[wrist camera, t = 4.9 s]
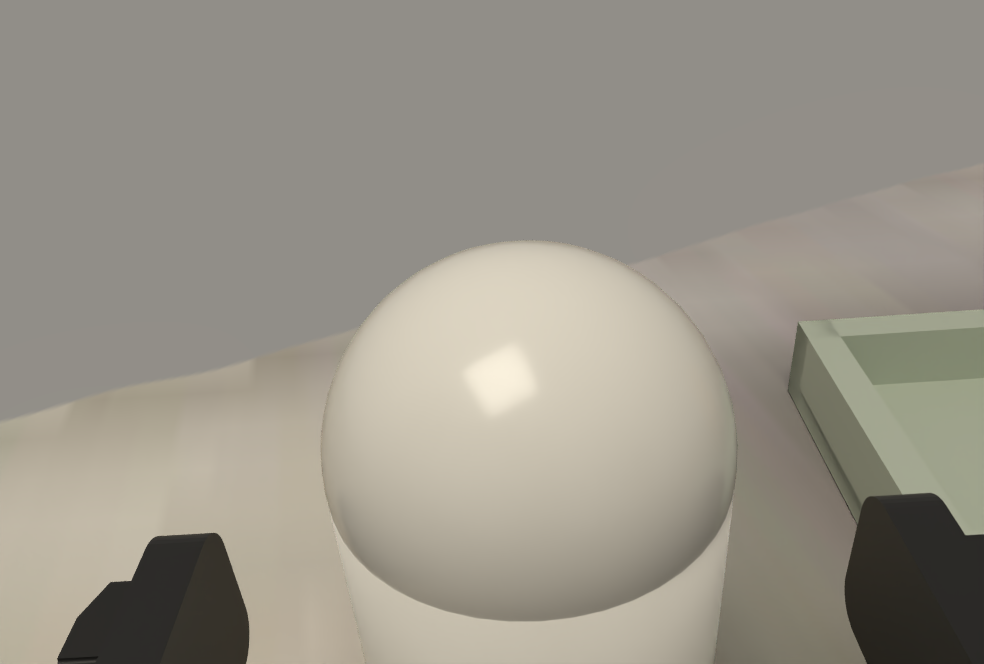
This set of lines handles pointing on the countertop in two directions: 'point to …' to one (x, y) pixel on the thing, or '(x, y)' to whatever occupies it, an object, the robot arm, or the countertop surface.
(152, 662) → the robot arm
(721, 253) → the countertop surface
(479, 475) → the white dome-topped cylinder
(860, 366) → the green rectangular open tray
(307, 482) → the countertop surface
